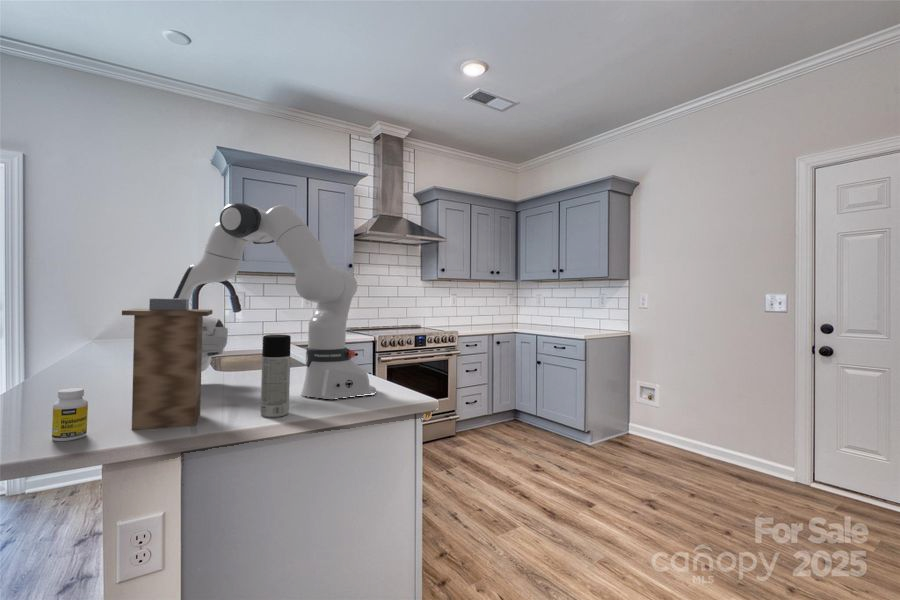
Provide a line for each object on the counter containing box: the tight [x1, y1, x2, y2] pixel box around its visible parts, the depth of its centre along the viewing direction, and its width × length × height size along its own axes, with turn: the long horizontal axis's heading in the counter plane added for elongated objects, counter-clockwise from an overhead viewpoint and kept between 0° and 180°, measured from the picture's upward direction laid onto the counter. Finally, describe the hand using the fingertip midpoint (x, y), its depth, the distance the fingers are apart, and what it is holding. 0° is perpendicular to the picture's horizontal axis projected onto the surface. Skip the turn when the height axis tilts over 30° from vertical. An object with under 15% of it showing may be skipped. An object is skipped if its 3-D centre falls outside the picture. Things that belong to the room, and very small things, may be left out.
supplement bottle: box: [51, 387, 89, 442], centre depth 89 cm, size 5×5×10 cm
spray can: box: [260, 334, 292, 419], centre depth 110 cm, size 7×7×20 cm
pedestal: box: [121, 308, 213, 431], centre depth 101 cm, size 16×11×26 cm
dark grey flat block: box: [148, 298, 190, 311], centre depth 106 cm, size 7×18×3 cm, turn 23°
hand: (186, 325), depth 122 cm, fingers open, 8 cm apart
